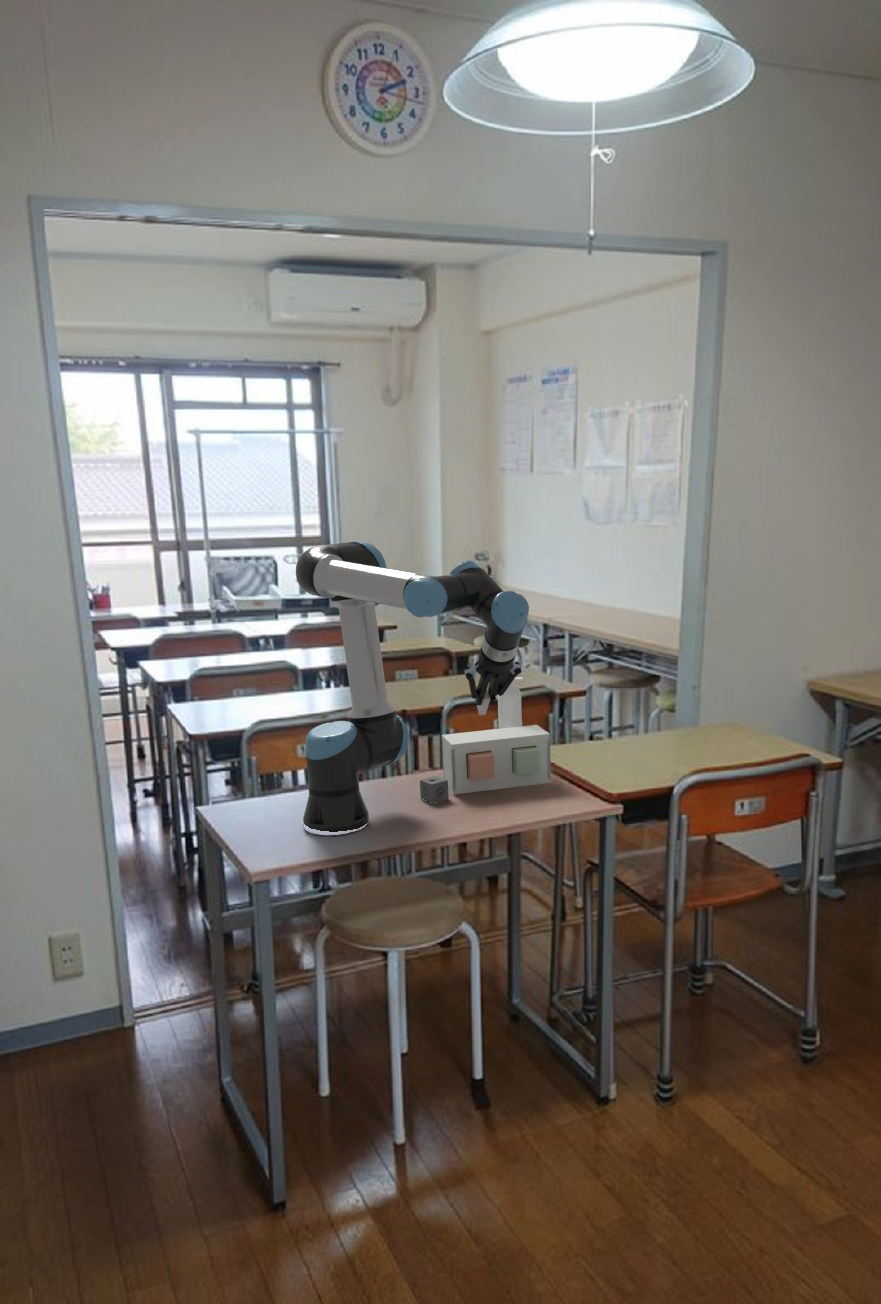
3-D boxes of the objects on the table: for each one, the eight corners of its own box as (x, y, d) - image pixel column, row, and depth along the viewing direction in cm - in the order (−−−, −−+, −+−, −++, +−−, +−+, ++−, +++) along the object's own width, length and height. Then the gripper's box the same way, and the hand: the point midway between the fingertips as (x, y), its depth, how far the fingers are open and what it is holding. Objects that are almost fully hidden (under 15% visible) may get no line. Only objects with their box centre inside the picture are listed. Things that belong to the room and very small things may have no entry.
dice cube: (420, 799, 228) (419, 780, 227) (436, 794, 231) (435, 775, 230) (432, 804, 224) (431, 784, 223) (448, 799, 227) (447, 780, 226)
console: (453, 794, 230) (451, 744, 228) (444, 782, 240) (441, 734, 237) (550, 782, 236) (549, 733, 234) (537, 771, 245) (536, 724, 243)
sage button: (517, 775, 230) (516, 752, 229) (508, 767, 237) (507, 745, 236) (539, 772, 231) (539, 749, 230) (530, 765, 238) (529, 742, 237)
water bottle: (495, 764, 254) (491, 676, 250) (513, 759, 258) (510, 672, 253) (515, 771, 247) (512, 680, 243) (533, 766, 250) (531, 677, 246)
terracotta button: (471, 780, 227) (470, 757, 226) (464, 772, 234) (463, 750, 233) (494, 778, 229) (493, 755, 228) (486, 770, 235) (485, 747, 234)
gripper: (473, 666, 190) (457, 726, 208) (532, 660, 193) (511, 720, 211) (465, 638, 194) (450, 699, 213) (523, 632, 197) (504, 694, 216)
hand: (481, 710), depth 212 cm, fingers closed
